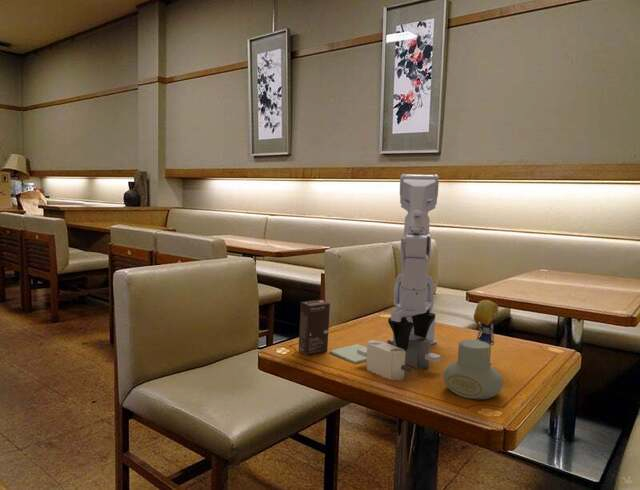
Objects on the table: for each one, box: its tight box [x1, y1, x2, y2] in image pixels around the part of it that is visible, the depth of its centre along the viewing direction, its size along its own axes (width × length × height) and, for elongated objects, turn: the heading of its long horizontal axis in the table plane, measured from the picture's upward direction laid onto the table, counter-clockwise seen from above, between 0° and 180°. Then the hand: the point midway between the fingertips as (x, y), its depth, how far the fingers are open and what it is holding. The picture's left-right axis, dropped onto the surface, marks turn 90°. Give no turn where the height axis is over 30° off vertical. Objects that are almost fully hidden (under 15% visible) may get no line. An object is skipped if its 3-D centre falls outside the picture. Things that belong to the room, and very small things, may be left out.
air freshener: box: [442, 339, 504, 401], centre depth 92 cm, size 11×8×10 cm
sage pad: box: [329, 343, 367, 365], centre depth 114 cm, size 9×9×1 cm
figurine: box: [473, 299, 499, 366], centre depth 108 cm, size 5×5×15 cm
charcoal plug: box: [386, 334, 442, 370], centre depth 109 cm, size 14×4×6 cm, turn 39°
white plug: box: [357, 339, 413, 382], centre depth 102 cm, size 14×4×6 cm, turn 39°
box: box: [298, 299, 331, 356], centre depth 115 cm, size 6×4×12 cm
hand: (410, 347), depth 109 cm, fingers open, 7 cm apart
